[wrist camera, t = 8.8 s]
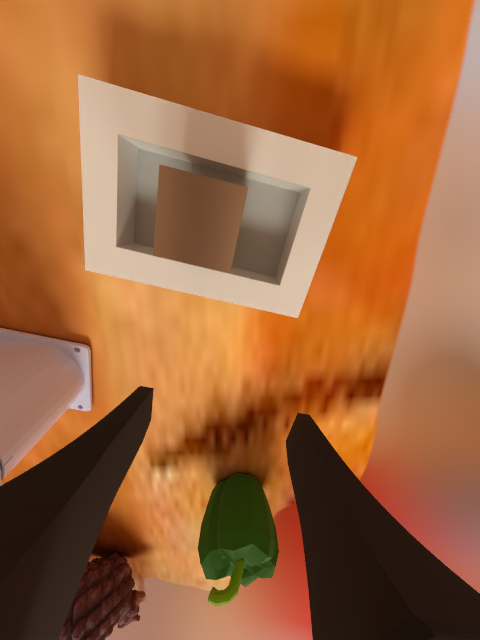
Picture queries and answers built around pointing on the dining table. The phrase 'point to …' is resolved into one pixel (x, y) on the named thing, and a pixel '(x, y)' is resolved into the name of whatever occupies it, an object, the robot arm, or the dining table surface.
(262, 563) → the bell pepper
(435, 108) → the dining table surface
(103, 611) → the pine cone
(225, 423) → the dining table surface
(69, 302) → the dining table surface
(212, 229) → the bracket block
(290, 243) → the well trough
